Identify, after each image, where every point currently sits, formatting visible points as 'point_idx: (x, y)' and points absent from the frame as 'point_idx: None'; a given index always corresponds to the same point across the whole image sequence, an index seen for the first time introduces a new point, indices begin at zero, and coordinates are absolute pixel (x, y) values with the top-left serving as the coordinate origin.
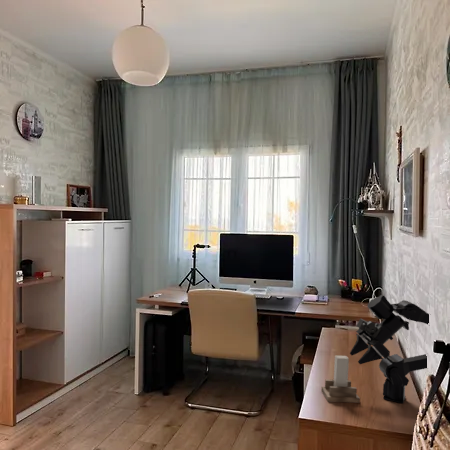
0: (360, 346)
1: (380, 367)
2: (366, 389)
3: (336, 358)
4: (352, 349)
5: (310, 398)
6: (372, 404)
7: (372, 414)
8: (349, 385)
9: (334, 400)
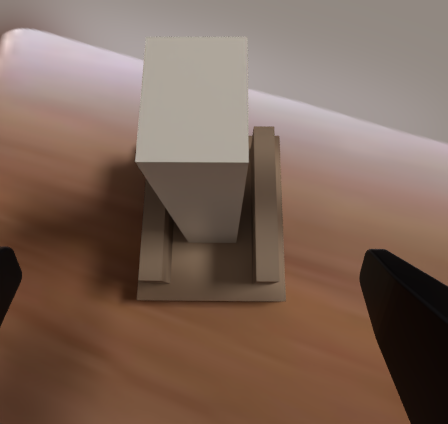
0: None
1: None
2: (334, 413)
3: (178, 46)
4: (420, 285)
5: None
6: (122, 367)
7: (8, 319)
8: (254, 273)
9: None
